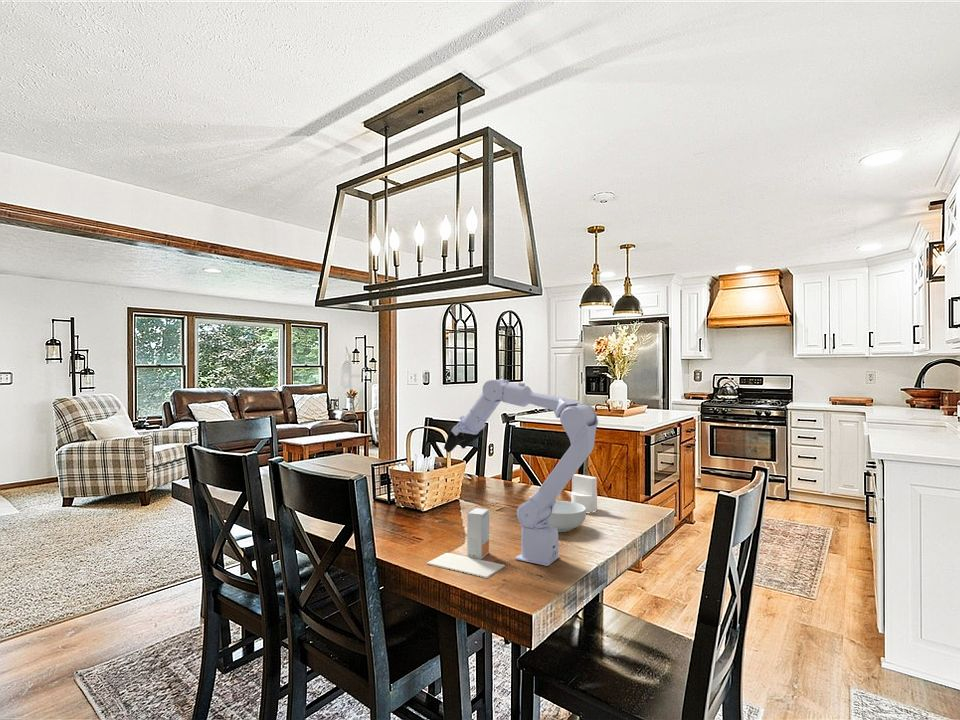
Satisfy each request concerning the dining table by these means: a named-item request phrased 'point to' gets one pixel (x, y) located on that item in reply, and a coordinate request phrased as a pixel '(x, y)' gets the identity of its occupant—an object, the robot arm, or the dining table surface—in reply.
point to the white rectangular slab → (466, 565)
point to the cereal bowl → (567, 516)
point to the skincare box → (478, 533)
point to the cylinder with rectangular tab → (584, 491)
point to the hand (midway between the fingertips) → (454, 448)
